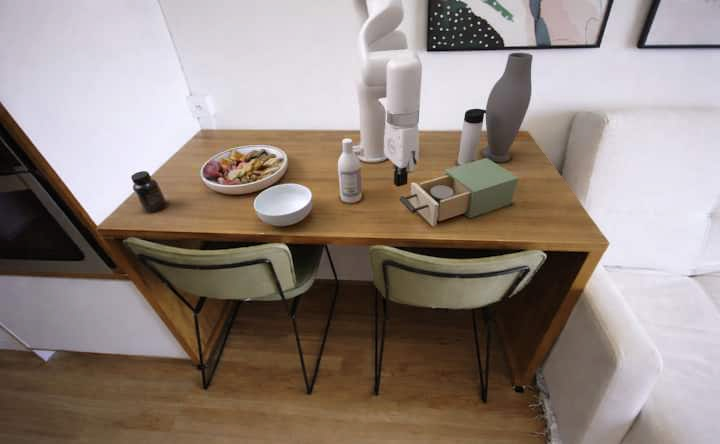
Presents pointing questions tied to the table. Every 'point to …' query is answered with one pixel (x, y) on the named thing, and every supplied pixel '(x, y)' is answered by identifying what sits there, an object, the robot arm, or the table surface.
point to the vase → (508, 106)
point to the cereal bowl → (283, 204)
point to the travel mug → (470, 136)
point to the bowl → (244, 169)
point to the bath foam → (349, 174)
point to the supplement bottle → (148, 192)
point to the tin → (441, 193)
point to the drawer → (447, 206)
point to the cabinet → (485, 185)
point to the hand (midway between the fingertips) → (400, 184)
